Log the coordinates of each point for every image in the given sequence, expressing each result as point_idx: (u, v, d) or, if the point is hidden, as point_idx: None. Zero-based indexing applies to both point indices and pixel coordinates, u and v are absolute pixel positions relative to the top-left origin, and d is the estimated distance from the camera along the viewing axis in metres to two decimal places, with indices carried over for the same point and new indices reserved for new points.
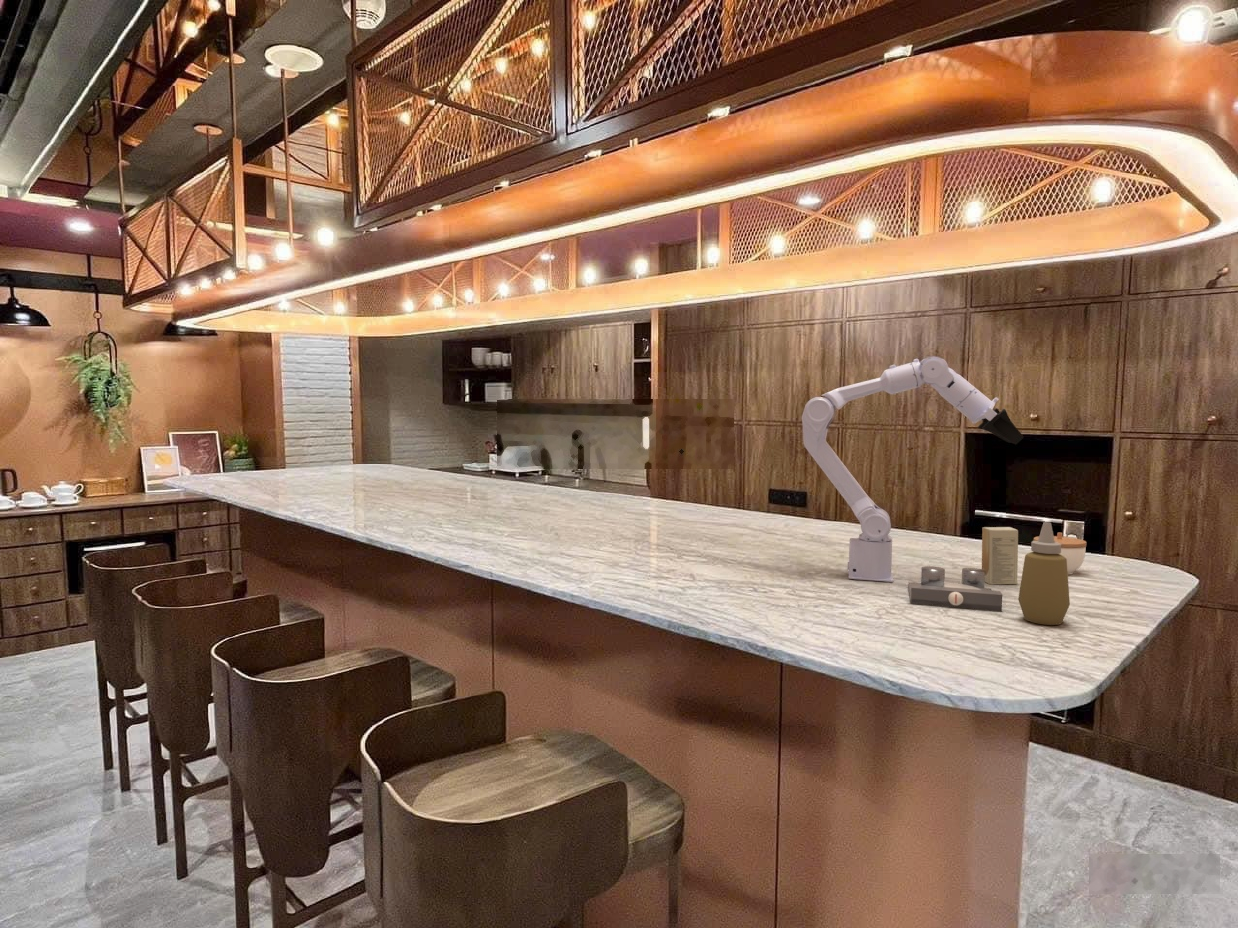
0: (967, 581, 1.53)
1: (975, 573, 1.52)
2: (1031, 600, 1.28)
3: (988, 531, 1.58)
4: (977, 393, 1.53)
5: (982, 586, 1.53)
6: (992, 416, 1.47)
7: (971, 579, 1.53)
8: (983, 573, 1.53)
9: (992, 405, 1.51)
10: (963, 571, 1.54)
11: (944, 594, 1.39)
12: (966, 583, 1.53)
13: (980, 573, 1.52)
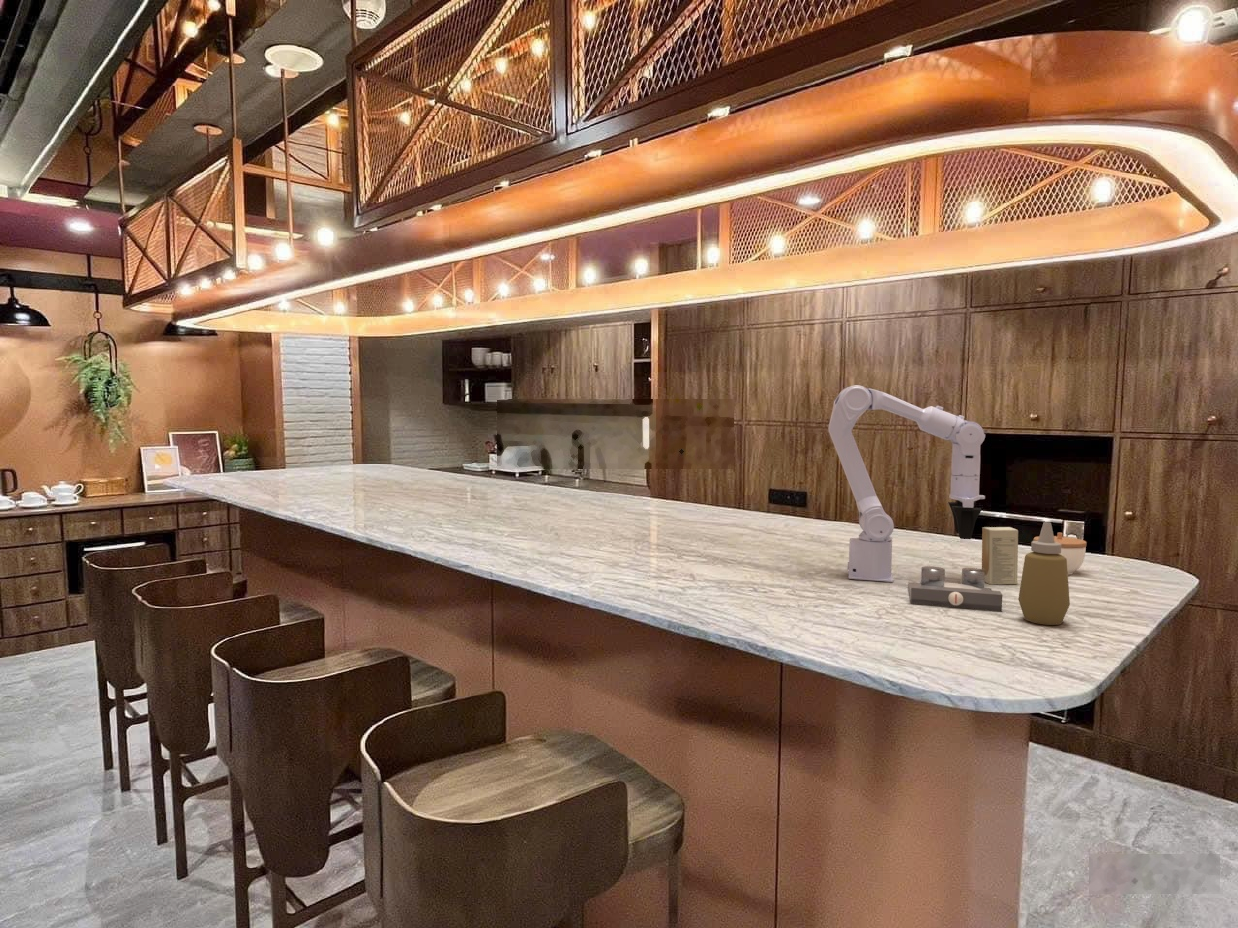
0: (967, 581, 1.53)
1: (975, 573, 1.52)
2: (1031, 600, 1.28)
3: (988, 531, 1.58)
4: (976, 480, 1.57)
5: (982, 586, 1.53)
6: (968, 506, 1.53)
7: (971, 579, 1.53)
8: (983, 573, 1.53)
9: (976, 498, 1.55)
10: (963, 571, 1.54)
11: (944, 594, 1.39)
12: (966, 583, 1.53)
13: (980, 573, 1.52)
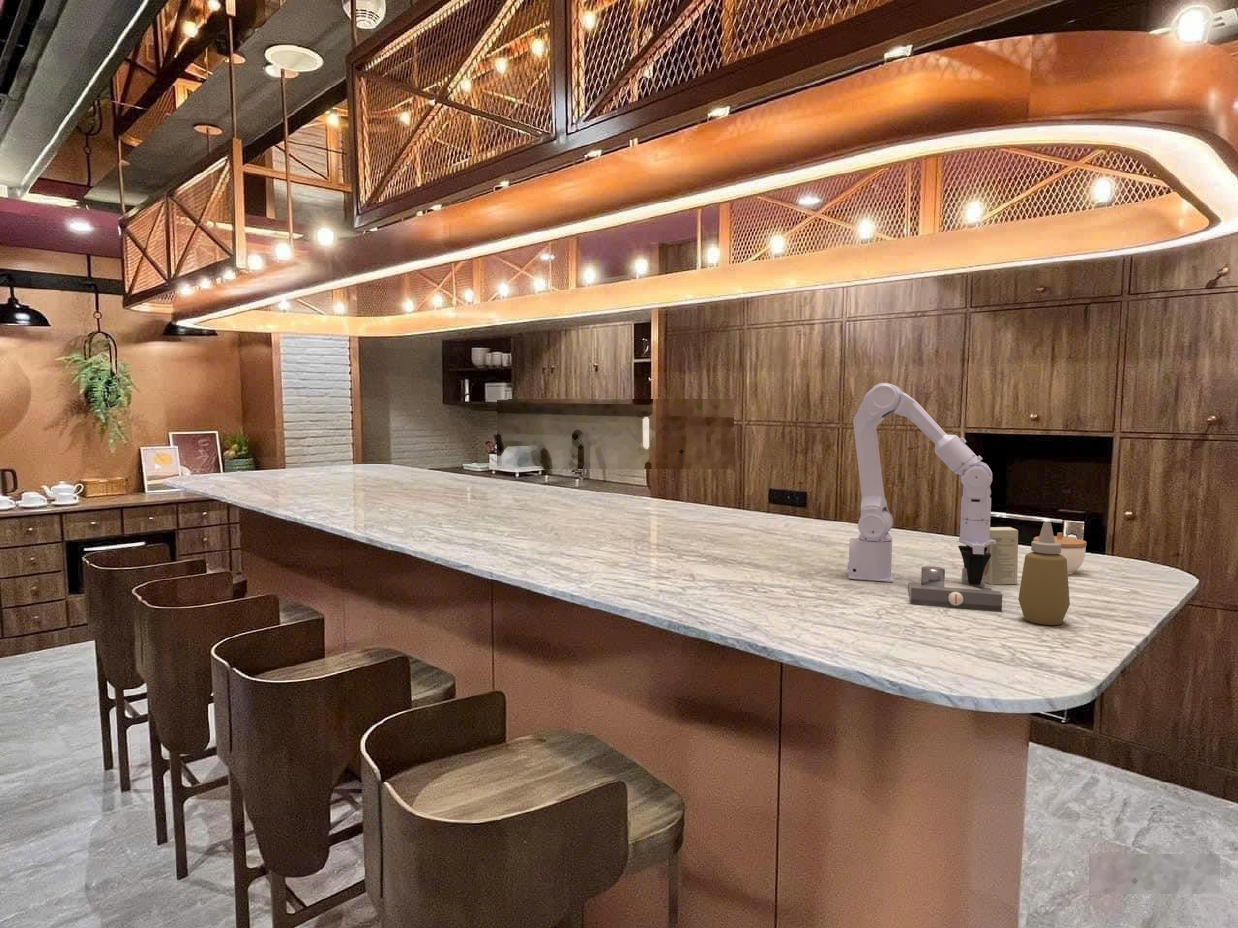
0: (967, 580, 1.53)
1: None
2: (1031, 600, 1.28)
3: None
4: (987, 525, 1.51)
5: (982, 586, 1.53)
6: (978, 552, 1.47)
7: None
8: (983, 573, 1.53)
9: (987, 544, 1.50)
10: (963, 571, 1.54)
11: (944, 594, 1.39)
12: (966, 583, 1.53)
13: None
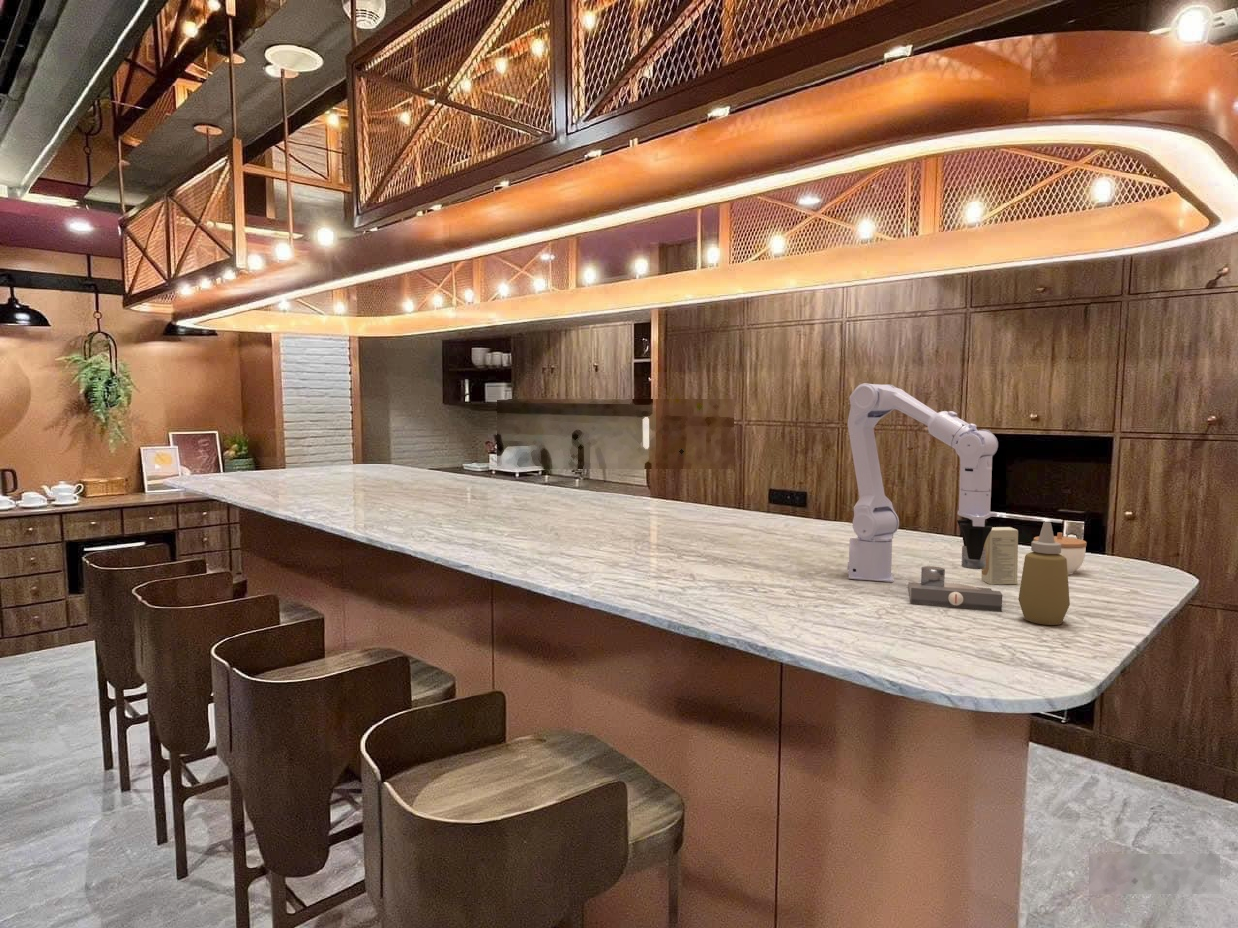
0: (967, 559, 1.45)
1: None
2: (1031, 600, 1.28)
3: None
4: (987, 496, 1.42)
5: (983, 564, 1.44)
6: (978, 524, 1.38)
7: None
8: (984, 550, 1.44)
9: (987, 516, 1.41)
10: (963, 549, 1.45)
11: (944, 594, 1.39)
12: (967, 561, 1.45)
13: None
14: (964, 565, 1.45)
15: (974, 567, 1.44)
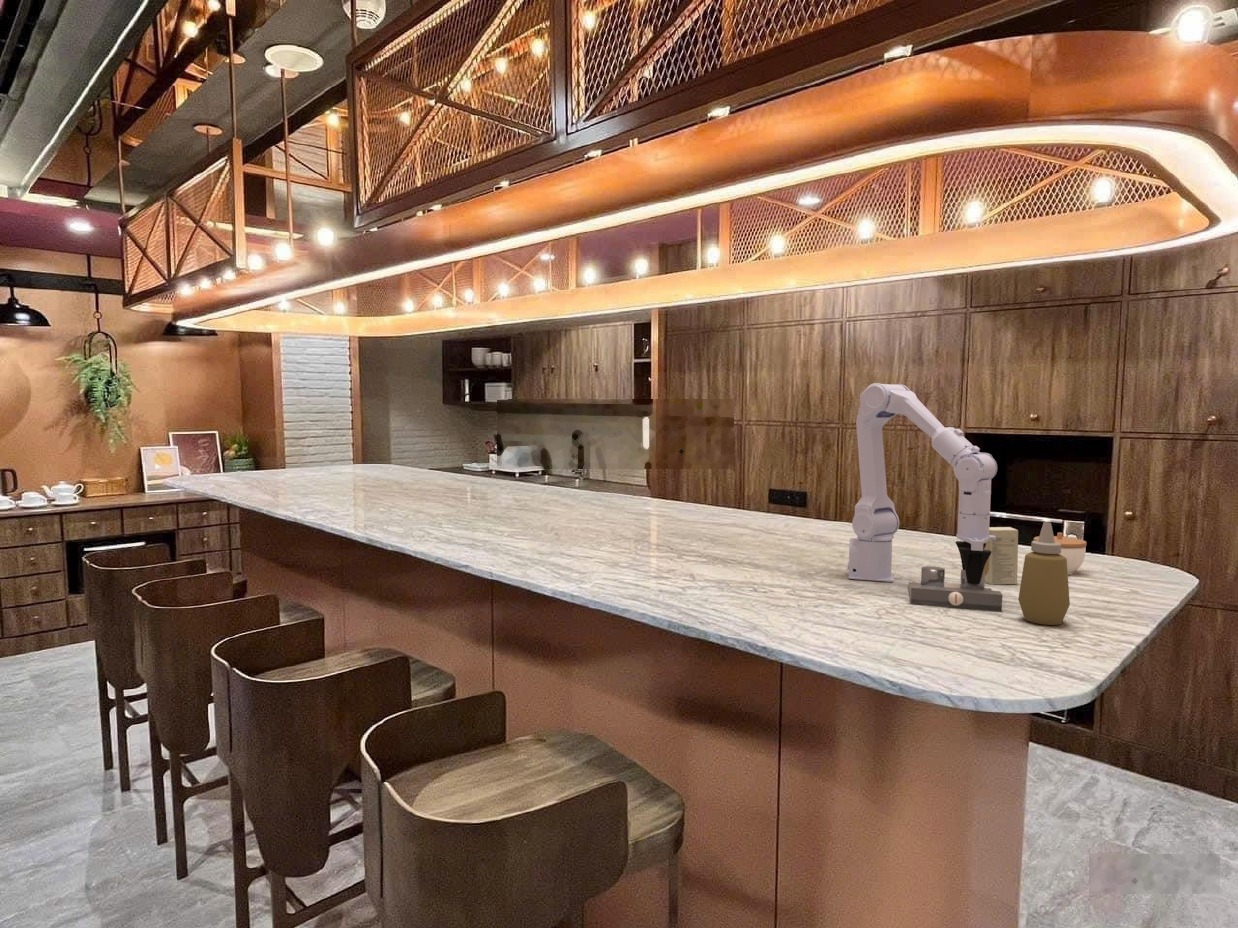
0: (966, 583, 1.44)
1: None
2: (1031, 600, 1.28)
3: None
4: (986, 520, 1.42)
5: (982, 588, 1.44)
6: (977, 549, 1.38)
7: None
8: (983, 574, 1.44)
9: (986, 540, 1.41)
10: (962, 572, 1.45)
11: (944, 594, 1.39)
12: (965, 585, 1.44)
13: None
14: None
15: None
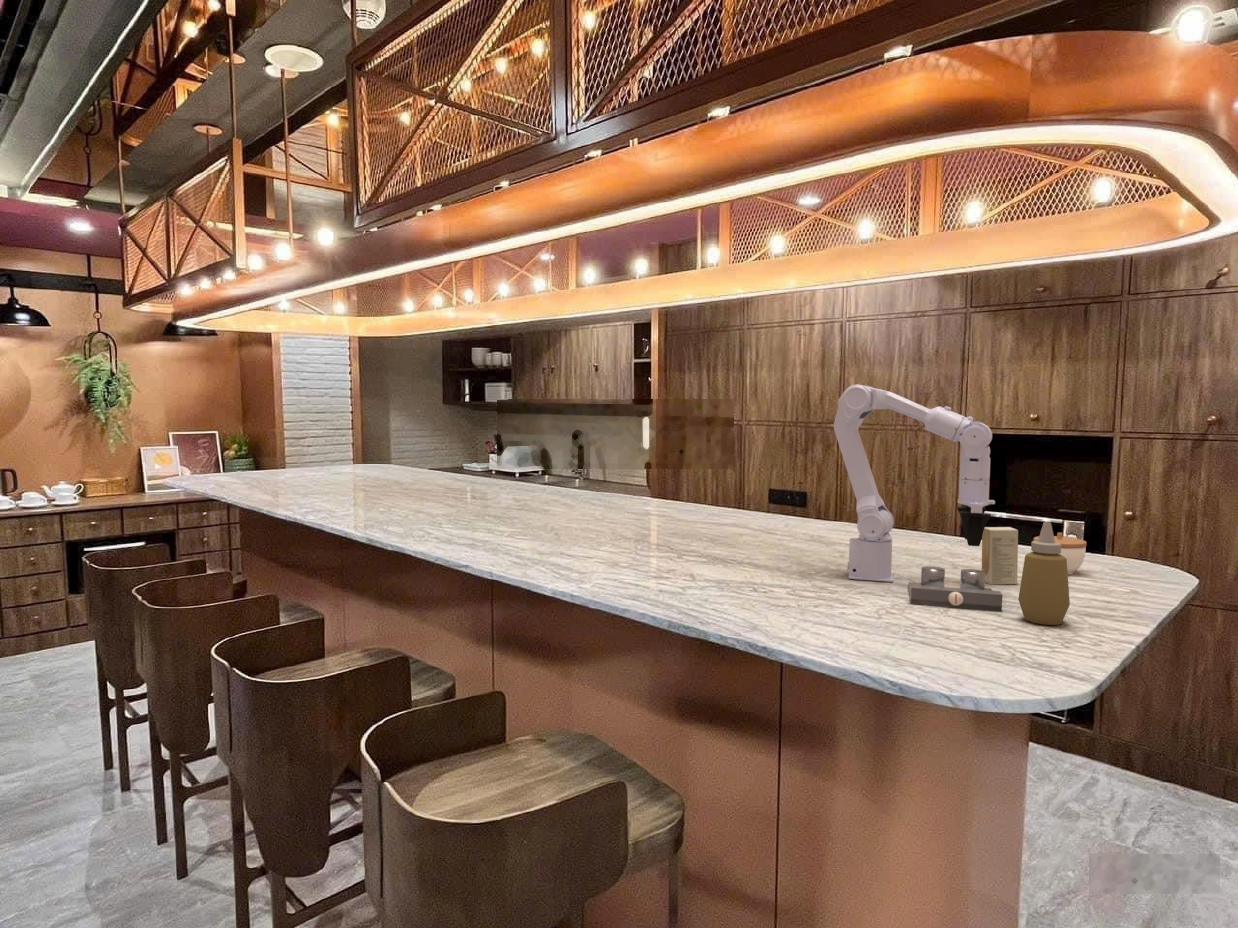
0: (966, 583, 1.44)
1: (975, 575, 1.43)
2: (1031, 600, 1.28)
3: (988, 531, 1.58)
4: (986, 485, 1.50)
5: (982, 588, 1.44)
6: (976, 511, 1.46)
7: (971, 581, 1.44)
8: (983, 574, 1.44)
9: (985, 503, 1.49)
10: (962, 572, 1.45)
11: (944, 594, 1.39)
12: (965, 585, 1.44)
13: (980, 575, 1.43)
14: None
15: None
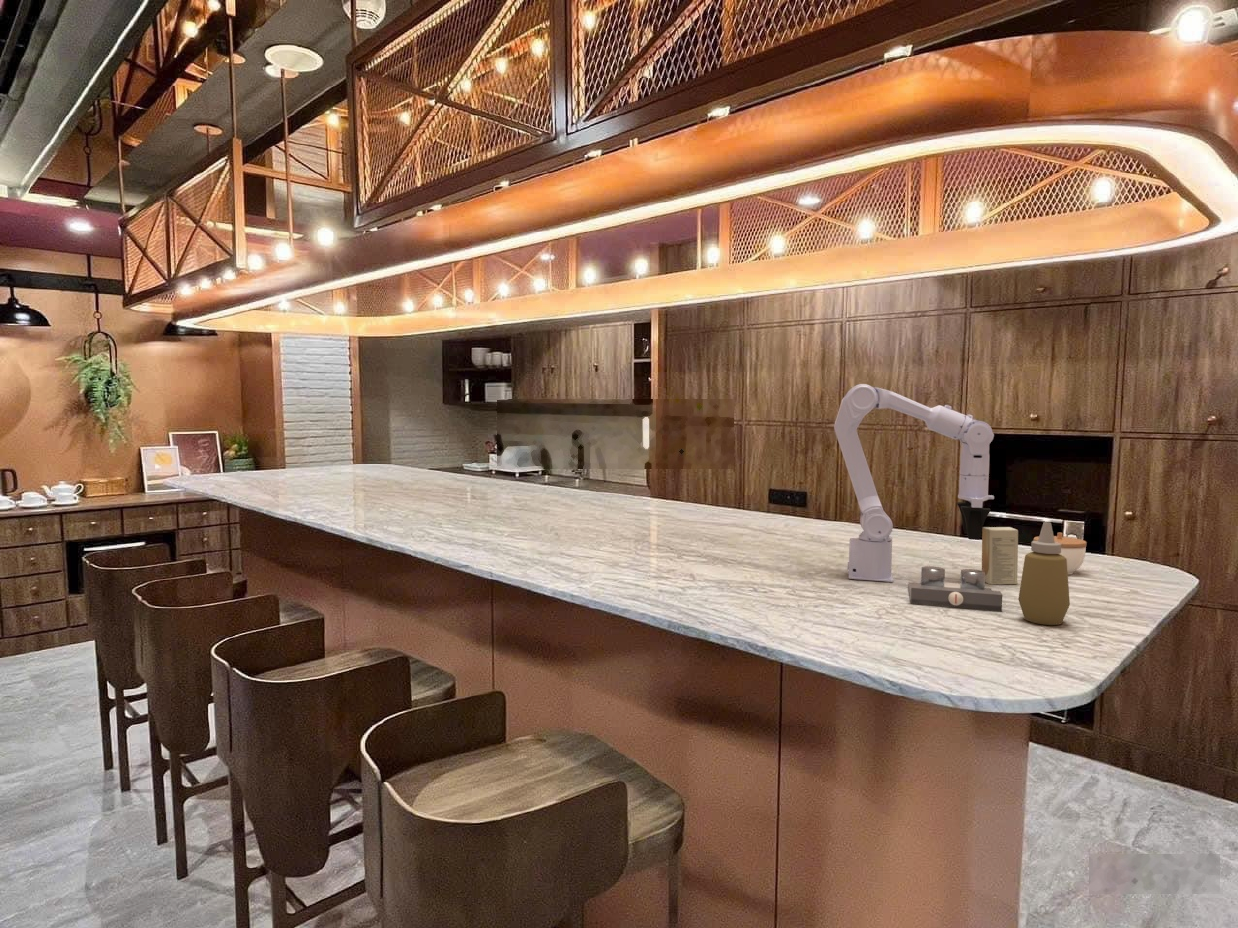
0: (966, 583, 1.44)
1: (975, 575, 1.43)
2: (1031, 600, 1.28)
3: (988, 531, 1.58)
4: (985, 480, 1.55)
5: (982, 588, 1.44)
6: (977, 506, 1.51)
7: (971, 581, 1.44)
8: (983, 574, 1.44)
9: (985, 498, 1.54)
10: (962, 572, 1.45)
11: (944, 594, 1.39)
12: (965, 585, 1.44)
13: (980, 575, 1.43)
14: None
15: None
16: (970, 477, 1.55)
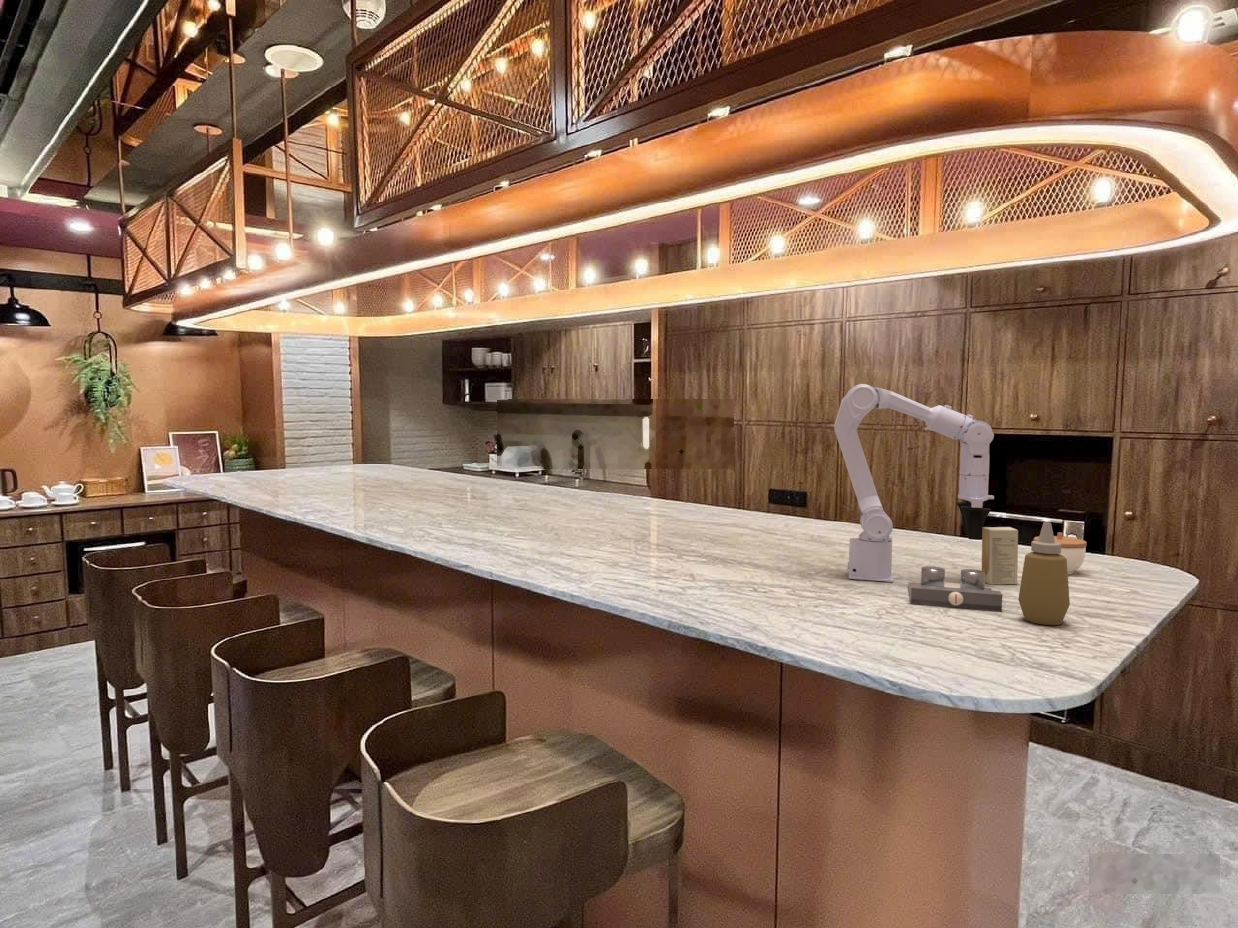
0: (966, 583, 1.44)
1: (975, 575, 1.43)
2: (1031, 600, 1.28)
3: (988, 531, 1.58)
4: (985, 480, 1.55)
5: (982, 588, 1.44)
6: (977, 506, 1.51)
7: (971, 581, 1.44)
8: (983, 574, 1.44)
9: (985, 498, 1.54)
10: (962, 572, 1.45)
11: (944, 594, 1.39)
12: (965, 585, 1.44)
13: (980, 575, 1.43)
14: None
15: None
16: (970, 477, 1.55)
